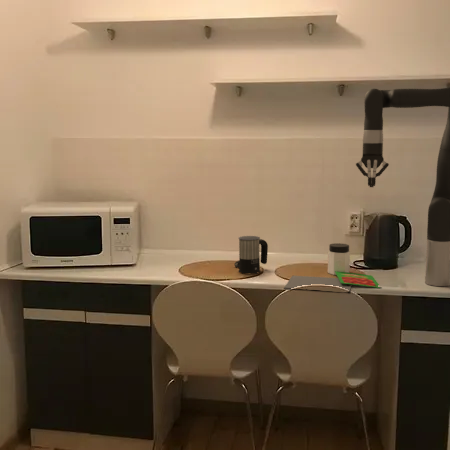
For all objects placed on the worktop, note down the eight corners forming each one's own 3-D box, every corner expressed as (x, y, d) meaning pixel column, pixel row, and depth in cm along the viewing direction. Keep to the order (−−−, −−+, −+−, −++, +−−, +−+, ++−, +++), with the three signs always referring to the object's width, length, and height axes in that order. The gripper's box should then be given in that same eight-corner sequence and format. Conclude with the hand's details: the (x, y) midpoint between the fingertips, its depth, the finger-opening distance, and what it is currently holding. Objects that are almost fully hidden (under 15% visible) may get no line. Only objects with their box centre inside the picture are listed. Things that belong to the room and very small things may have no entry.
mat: (352, 280, 232) (352, 279, 232) (349, 293, 213) (349, 291, 213) (292, 276, 238) (292, 275, 238) (284, 289, 219) (284, 287, 219)
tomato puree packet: (341, 281, 221) (334, 270, 240) (340, 284, 221) (334, 272, 241) (382, 286, 220) (372, 274, 240) (381, 289, 220) (371, 277, 240)
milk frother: (251, 275, 241) (252, 240, 239) (221, 270, 251) (221, 236, 249) (270, 269, 253) (270, 235, 250) (241, 264, 262) (241, 232, 260)
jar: (328, 275, 241) (328, 246, 240) (327, 270, 249) (327, 243, 248) (350, 275, 240) (351, 247, 238) (348, 271, 248) (349, 243, 246)
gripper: (390, 142, 227) (389, 186, 230) (355, 142, 231) (354, 186, 233) (390, 142, 220) (389, 188, 223) (354, 142, 224) (353, 187, 226)
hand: (371, 187), depth 228 cm, fingers closed
